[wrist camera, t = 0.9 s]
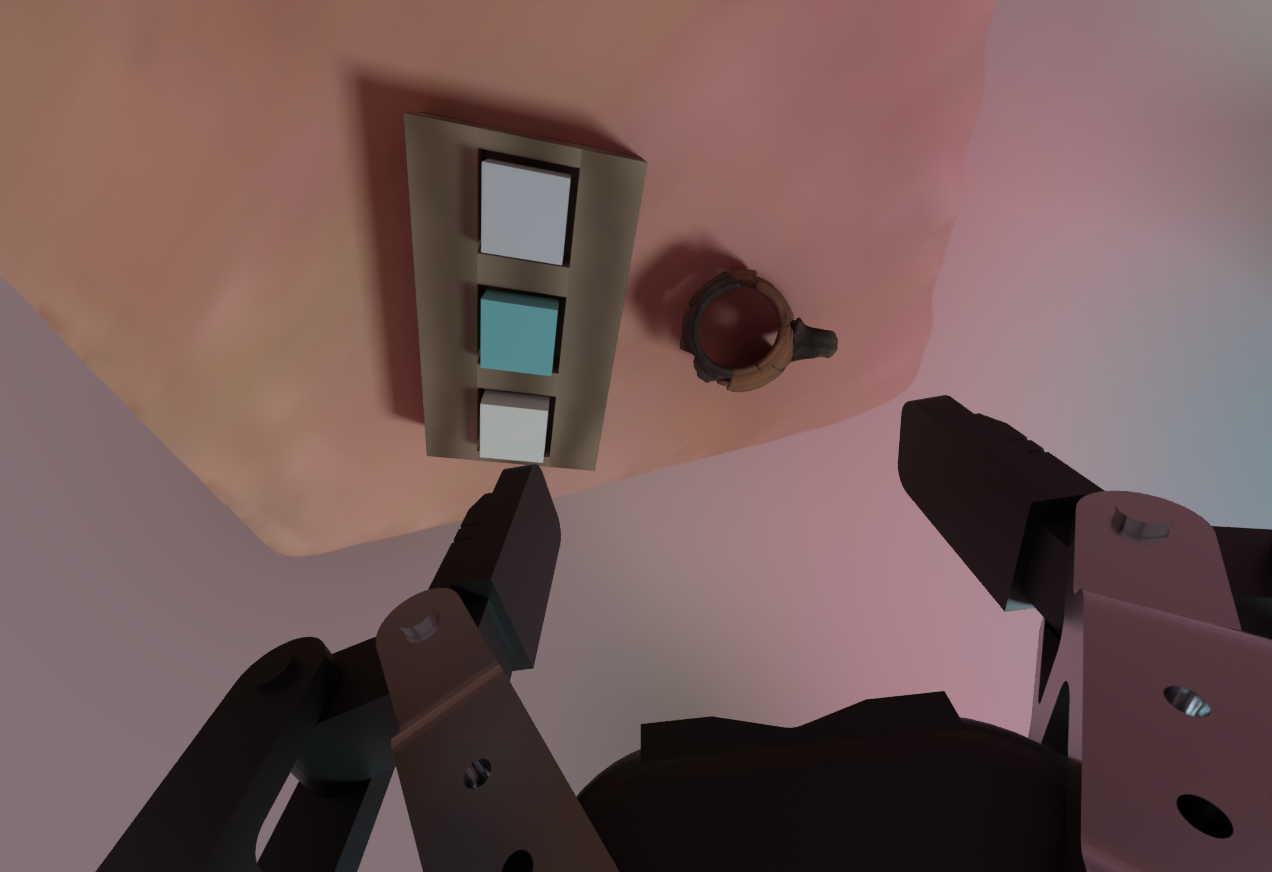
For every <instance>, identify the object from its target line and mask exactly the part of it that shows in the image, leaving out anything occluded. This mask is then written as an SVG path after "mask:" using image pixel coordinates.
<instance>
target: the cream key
mask: <svg viewBox="0 0 1272 872" xmlns="http://www.w3.org/2000/svg"><path fill="white" fill-rule="evenodd" d="M549 399H550V397H546V396H537V395H528V394H519V393H510V392H502V391H493V390H485V392H484V395H483V397H482V400H481V403H480V457H483V458H494V459H505V460H516V461H527V462H538V463H543V459H544V450H545V441H546V430H547V420H548V409H549Z"/></svg>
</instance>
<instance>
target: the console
mask: <svg viewBox="0 0 1272 872" xmlns="http://www.w3.org/2000/svg"><path fill="white" fill-rule="evenodd" d="M404 128H405V142H406V157H407V172H408V186H409V201H410V216H411V230H412V245H413V260H414V275H415V289H416V304H417V319H418V333H419V348H420V363H421V377H422V392H423V407H424V421H425V436H426V451H427V456H434V457H445V458H456V459H468V460H479V461H490V462H502V463H513V464H524V465H531V464H537V465H538V466H547V467H558V468H569V469H580V470H592V471H595V466H596V461H597V455H598V449H599V443H600V437H601V431H602V426H603V420H604V414H605V408H606V402H607V396H608V390H609V385H610V379H611V373H612V367H613V361H614V355H615V350H616V344H617V338H618V332H619V326H620V320H621V315H622V309H623V303H624V297H625V291H626V285H627V279H628V274H629V268H630V262H631V256H632V250H633V244H634V239H635V233H636V227H637V221H638V215H639V209H640V204H641V198H642V192H643V186H644V180H645V174H646V168H647V162H646V161H645V160H644V159H642V158H641V157H637V156H632V155H627V154H622V153H618V152H613V151H608V150H603V149H598V148H593V147H588V146H584V145H579V144H574V143H569V142H564V141H559V140H555V139H550V138H545V137H540V136H535V135H530V134H525V133H521V132H516V131H511V130H506V129H501V128H496V127H492V126H487V125H482V124H477V123H472V122H467V121H462V120H458V119H453V118H448V117H443V116H438V115H433V114H428V113H424V112H419V113H404ZM488 158H489V159H494V160H499V161H505V162H510V163H515V164H520V165H525V166H530V167H535V168H541V169H546V170H551V171H556V172H561V173H566V174H571V181H570V192H569V202H568V212H567V223H566V233H565V243H564V254H563V262H562V265H557V264H551V263H545V262H538V261H532V260H526V259H520V258H514V257H508V256H501V255H495V254H489V253H483V252H481V213H482V161H484V160H486V159H488ZM486 289H490V290H497V291H504V292H510V293H517V294H524V295H531V296H537V297H544V298H551V299H557V300H559V306H558V316H557V326H556V337H555V347H554V358H553V367H552V375H551V376H545V375H537V374H529V373H520V372H512V371H504V370H496V369H487V368H481V298H482V296H483V295H484V293H485V291H486ZM485 390H493V391H502V392H510V393H519V394H528V395H537V396H546V397H550V399H549V409H548V420H547V430H546V441H545V450H544V459H543V463H538V462H527V461H516V460H505V459H494V458H483V457H480V403H481V400H482V397H483V395H484V392H485Z"/></svg>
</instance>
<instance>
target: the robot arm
mask: <svg viewBox="0 0 1272 872" xmlns="http://www.w3.org/2000/svg"><path fill="white" fill-rule="evenodd" d="M898 471H899V477H900V480H901V483H902V485H903V488H904V489H905V491H906V492H907V494H908V495H909V496H910V497H911V499H912V500H913V501H914V502H915V503H916V505H917V506H918V507H919V508H920V509H921V511H922V512H923V513H924V514H925V516H926V517H927V518H928V519H929V520H930V522H931V523H932V524H933V525H934V526H935V528H936V529H937V530H938V531H939V532H940V534H941V535H942V536H943V537H944V539H945V540H946V541H947V542H948V543H949V545H950V546H951V547H952V548H953V549H954V551H955V552H956V553H957V554H958V555H959V557H960V558H961V559H962V560H963V562H964V563H965V564H966V565H967V566H968V568H969V569H970V570H971V571H972V572H973V574H974V575H975V576H976V577H977V578H978V580H979V581H980V582H981V583H982V585H983V586H984V587H985V588H986V589H987V591H988V592H989V593H990V594H991V595H992V597H993V598H994V599H995V600H996V601H997V603H998V604H999V605H1000V606H1001V608H1002V609H1003V610H1004V611H1005V612H1007V611H1015V610H1023V609H1032V608H1036V609H1037V610H1038V611H1039V612H1040V613H1041V615H1042V616H1043V620H1042V623H1041V627H1040V631H1039V641H1038V652H1037V663H1036V674H1035V685H1034V696H1033V707H1032V717H1031V725H1030V731H1029V736H1028V738H1027V737H1025V736H1022V735H1020V734H1018V733H1016V732H1013V731H1010V730H1007V729H1004V728H1001V727H998V726H995V725H992V724H988V723H984V722H980V721H976V720H972V719H967V718H960V717H959V716H958V714H957V712H956V711H955V709H954V707H953V705H952V704H951V702H950V700H949V698H948V697H947V695H946V693H945V692H944V691H941V692H931V693H923V694H913V695H904V696H895V697H885V698H876V699H867V700H864V701H861V702H859V703H857V704H854V705H851V706H849V707H846V708H844V709H842V710H839V711H837V712H834V713H832V714H829V715H827V716H824V717H822V718H819V719H817V720H814V721H812V722H809V723H807V724H804V725H802V726H799V727H794V728H784V727H778V726H771V725H764V724H758V723H752V722H745V721H738V720H732V719H725V718H719V717H702V718H693V719H684V720H675V721H665V722H657V723H648V724H641V749H640V750H638V751H635V752H633V753H631V754H629V755H627V756H625V757H623V758H622V759H620V760H618V761H616V762H614V763H613V764H612V765H610V766H609V767H608V768H606V769H605V770H604V771H602V772H601V773H600V774H598V775H597V776H596V777H595V778H594V779H593V780H592V781H591V782H590V783H589V784H588V785H586V786H585V787H584V788H583V790H582V791H581V792H580V793H579V794H578V795H577V797H576V796H575V794H574V792H573V790H572V789H571V787H570V785H569V783H568V782H567V780H566V778H565V776H564V775H563V773H562V771H561V770H560V768H559V766H558V764H557V763H556V761H555V759H554V757H553V756H552V754H551V752H550V750H549V749H548V747H547V745H546V743H545V742H544V740H543V738H542V737H541V735H540V733H539V731H538V730H537V728H536V726H535V725H534V723H533V721H532V719H531V717H530V716H529V714H528V712H527V710H526V709H525V707H524V705H523V704H522V702H521V700H520V698H519V697H518V695H517V693H516V691H515V690H514V688H513V686H512V684H511V683H510V678H511V674H512V671H516V670H524V669H532V668H534V663H535V658H536V653H537V649H538V644H539V640H540V635H541V630H542V626H543V621H544V617H545V612H546V607H547V602H548V598H549V594H550V589H551V584H552V580H553V575H554V570H555V566H556V561H557V556H558V552H559V547H560V542H561V531H560V523H559V519H558V515H557V512H556V510H555V507H554V504H553V501H552V498H551V495H550V493H549V490H548V487H547V484H546V481H545V478H544V476H543V473H542V470H541V468H540V467H539V466H538V465H537V464H531V465H526V466H520V467H514V468H508V469H504V470H503V471H502V473H501V475H500V477H499V479H498V482H497V484H496V486H495V488H494V490H493V492H492V493H487V494H484V495H483V496H482V497H481V498H480V499H479V500H478V501H477V502H476V503H475V504H474V505H473V506H472V507H471V508H470V509H469V510H468V512H467V514H466V516H465V518H464V520H463V522H462V524H461V529H459V530H458V532H457V534H456V536H455V538H454V543H452V544H451V546H450V548H449V550H448V552H447V554H446V556H445V557H444V559H443V561H442V564H441V565H440V568H439V569H438V571H437V573H436V576H435V577H434V579H433V581H432V583H431V585H430V587H429V589H428V590H426V591H423V592H421V593H418V594H416V595H414V596H412V597H410V598H409V599H407V600H406V601H404V602H402V603H401V604H400V605H398V606H397V607H396V608H395V609H394V610H393V611H392V612H391V613H390V614H389V615H388V616H387V618H386V619H385V620H384V621H383V623H382V624H381V626H380V628H379V630H378V632H377V635H376V637H374V638H371V639H369V640H366V641H364V642H361V643H359V644H356V645H354V646H351V647H348V648H346V649H343V650H341V651H338V652H336V653H333V654H331V652H330V651H329V650H328V648H327V647H326V646H325V644H324V643H323V642H322V641H321V640H320V639H318V638H315V637H303V638H299V639H295V640H292V641H289V642H287V643H285V644H283V645H280V646H278V647H277V648H275V649H273V650H271V651H270V652H268V653H267V654H265V655H264V656H263V657H261V658H260V659H259V660H257V661H256V662H255V663H254V664H253V665H251V666H250V667H249V668H248V669H247V670H246V671H245V672H244V673H243V674H242V675H241V676H240V678H239V679H238V680H237V681H236V683H235V684H234V685H233V687H232V688H231V689H230V691H229V692H228V693H227V695H226V696H225V698H224V699H223V700H222V702H221V703H220V704H219V706H218V707H217V708H216V710H215V711H214V712H213V714H212V715H211V716H210V718H209V719H208V720H207V722H206V723H205V725H204V726H203V727H202V729H201V730H200V731H199V733H198V734H197V735H196V737H195V738H194V740H193V741H192V742H191V744H190V745H189V746H188V748H187V749H186V750H185V752H184V753H183V754H182V756H181V757H180V758H179V760H178V761H177V763H176V764H175V765H174V766H173V768H172V769H171V771H170V772H169V773H168V775H167V776H166V777H165V779H164V780H163V781H162V783H161V784H160V785H159V787H158V788H157V789H156V791H155V792H154V794H153V795H152V796H151V798H150V799H149V801H148V802H147V803H146V804H145V806H144V807H143V809H142V810H141V811H140V812H139V814H138V815H137V817H136V818H135V819H134V821H133V822H132V823H131V825H130V826H129V827H128V829H127V830H126V831H125V833H124V834H123V835H122V837H121V838H120V839H119V841H118V842H117V844H116V845H115V846H114V848H113V849H112V850H111V852H110V853H109V854H108V856H107V857H106V859H105V860H104V861H103V862H102V864H101V865H100V867H99V868H98V869H97V871H96V872H357V870H358V867H359V865H360V862H361V859H362V857H363V854H364V851H365V848H366V845H367V843H368V840H369V837H370V834H371V832H372V829H373V826H374V824H375V821H376V818H377V815H378V812H379V810H380V807H381V804H382V801H383V799H384V796H385V793H386V790H387V788H388V785H389V782H390V779H391V777H392V774H393V771H394V768H395V767H396V768H397V772H398V775H399V779H400V783H401V787H402V791H403V795H404V799H405V803H406V806H407V810H408V814H409V818H410V822H411V826H412V830H413V834H414V838H415V841H416V846H417V849H418V853H419V857H420V861H421V865H422V869H423V872H1272V530H1270V529H1252V528H1251V529H1250V528H1235V527H1234V528H1233V527H1218V526H1211V525H1210V524H1209V523H1208V522H1207V521H1206V520H1205V519H1203V518H1202V517H1201V516H1199V515H1198V514H1196V513H1195V512H1193V511H1191V510H1189V509H1188V508H1186V507H1184V506H1181V505H1179V504H1176V503H1174V502H1171V501H1169V500H1166V499H1163V498H1159V497H1155V496H1151V495H1147V494H1142V493H1136V492H1129V491H1104V490H1103V489H1101V488H1100V487H1098V486H1097V485H1095V484H1094V483H1092V482H1091V481H1090V480H1088V479H1087V478H1085V477H1084V476H1082V475H1081V474H1079V473H1078V472H1076V471H1075V470H1074V469H1072V468H1071V467H1069V466H1068V465H1066V464H1065V463H1063V462H1062V461H1061V460H1059V459H1057V458H1056V457H1055V456H1053V455H1052V454H1050V453H1049V452H1044V449H1043V448H1042V447H1040V446H1039V445H1037V444H1036V443H1034V442H1033V441H1031V440H1029V441H1028V440H1027V437H1026V436H1024V435H1023V434H1021V433H1020V432H1019V431H1017V430H1016V429H1014V428H1013V427H1011V426H1010V425H1008V424H1007V423H1004V422H1002V421H999V420H995V419H993V418H990V417H988V416H985V415H982V414H974V413H972V412H971V411H969V410H968V409H967V408H965V407H964V406H963V405H961V404H960V403H958V402H957V401H956V400H954V399H953V398H951V397H950V396H947V395H943V396H937V397H932V398H925V399H919V400H913V401H908V402H906V403H905V404H904V406H903V409H902V415H901V428H900V442H899V457H898ZM290 772H291V773H292V774H293V775H294V776H295V777H296V778H297V779H298V780H299V782H298V784H297V787H296V789H295V790H294V792H293V794H292V796H291V798H290V800H289V802H288V804H287V806H286V808H285V810H284V812H283V814H282V816H281V818H280V820H279V822H278V823H277V825H276V827H275V829H274V831H273V833H272V835H271V837H270V839H269V841H268V843H267V845H266V847H265V849H264V851H263V853H262V855H261V857H260V859H259V860H258V862H256V856H255V849H256V842H257V838H258V834H259V832H260V829H261V827H262V824H263V822H264V820H265V819H266V817H267V815H268V813H269V811H270V809H271V807H272V805H273V804H274V802H275V800H276V798H277V796H278V794H279V792H280V791H281V789H282V787H283V785H284V783H285V781H286V779H287V777H288V776H289V774H290Z"/></svg>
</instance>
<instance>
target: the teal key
mask: <svg viewBox="0 0 1272 872" xmlns="http://www.w3.org/2000/svg"><path fill="white" fill-rule="evenodd" d="M558 306H559V300H557V299H551V298H544V297H537V296H531V295H524V294H517V293H510V292H504V291H497V290H490V289H486V291H485V293H484V295H483V296H482V298H481V368H487V369H496V370H504V371H512V372H520V373H529V374H537V375H545V376H551V375H552V367H553V358H554V347H555V337H556V326H557V316H558Z"/></svg>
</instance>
